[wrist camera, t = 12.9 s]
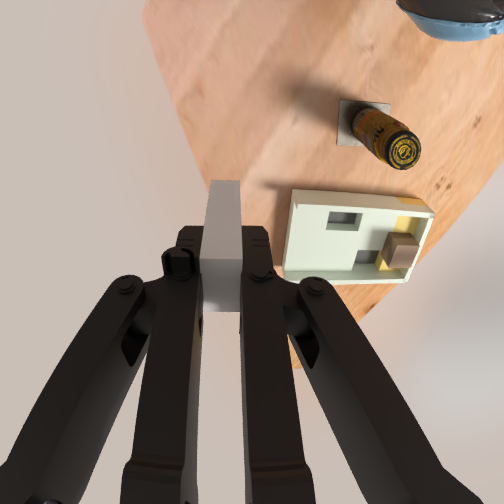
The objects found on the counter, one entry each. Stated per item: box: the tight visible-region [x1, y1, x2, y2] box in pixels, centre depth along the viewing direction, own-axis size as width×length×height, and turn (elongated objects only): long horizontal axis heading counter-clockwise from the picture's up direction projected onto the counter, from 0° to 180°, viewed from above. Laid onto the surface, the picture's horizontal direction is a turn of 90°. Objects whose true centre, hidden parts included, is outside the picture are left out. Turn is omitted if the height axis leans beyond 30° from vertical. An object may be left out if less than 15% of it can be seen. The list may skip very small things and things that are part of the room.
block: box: [381, 232, 420, 268], centre depth 51 cm, size 5×5×4 cm
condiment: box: [337, 100, 421, 170], centre depth 37 cm, size 7×8×12 cm
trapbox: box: [282, 189, 435, 284], centre depth 52 cm, size 16×25×5 cm, turn 87°
